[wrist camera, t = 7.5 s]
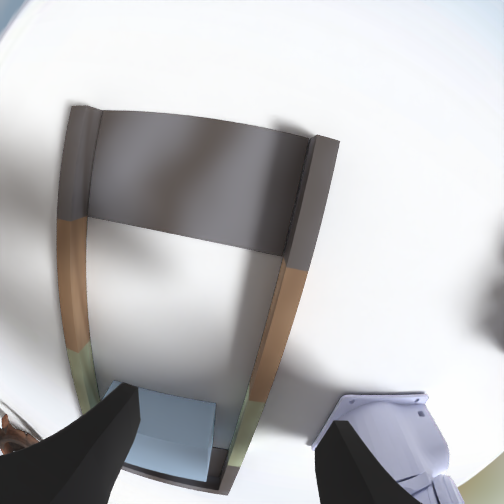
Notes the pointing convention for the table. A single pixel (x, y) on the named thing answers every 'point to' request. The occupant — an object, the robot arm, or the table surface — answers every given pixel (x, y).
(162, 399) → the blue block
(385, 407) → the robot arm
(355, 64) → the table surface
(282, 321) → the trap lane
